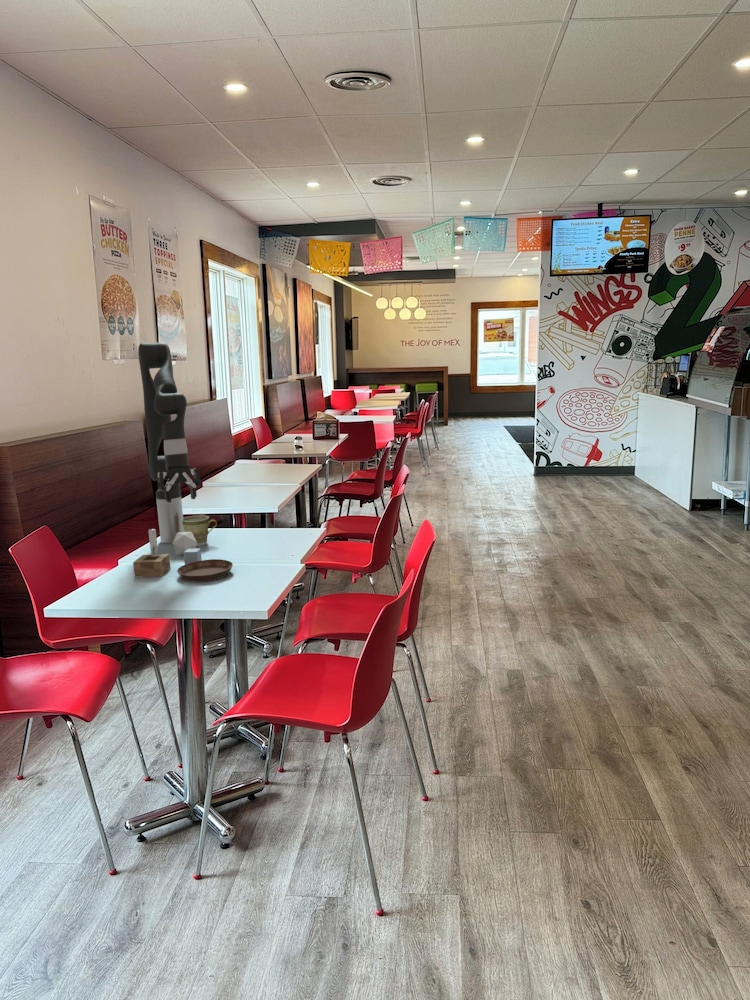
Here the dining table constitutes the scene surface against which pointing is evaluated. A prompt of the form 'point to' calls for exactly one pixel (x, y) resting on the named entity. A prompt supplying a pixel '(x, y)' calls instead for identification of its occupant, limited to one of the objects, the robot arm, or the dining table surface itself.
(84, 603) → the dining table surface
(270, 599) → the dining table surface
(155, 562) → the bore block
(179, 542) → the die
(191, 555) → the slate block
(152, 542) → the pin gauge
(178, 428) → the robot arm
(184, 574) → the plant saucer
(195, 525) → the ceramic cup
